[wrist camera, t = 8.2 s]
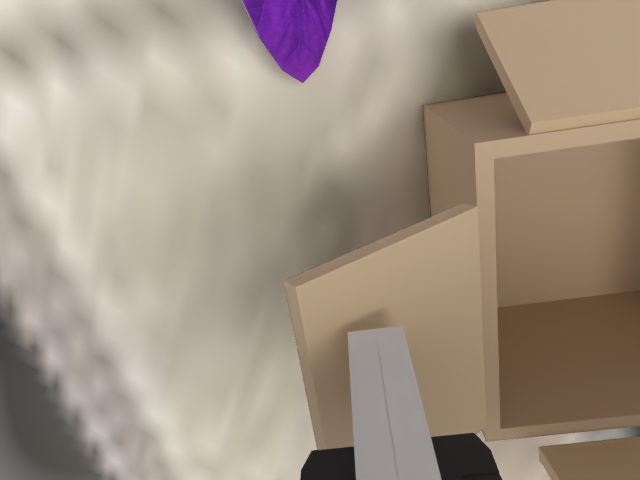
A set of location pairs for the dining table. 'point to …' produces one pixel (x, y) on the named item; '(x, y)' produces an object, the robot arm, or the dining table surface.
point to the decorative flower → (293, 31)
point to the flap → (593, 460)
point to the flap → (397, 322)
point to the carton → (552, 213)
